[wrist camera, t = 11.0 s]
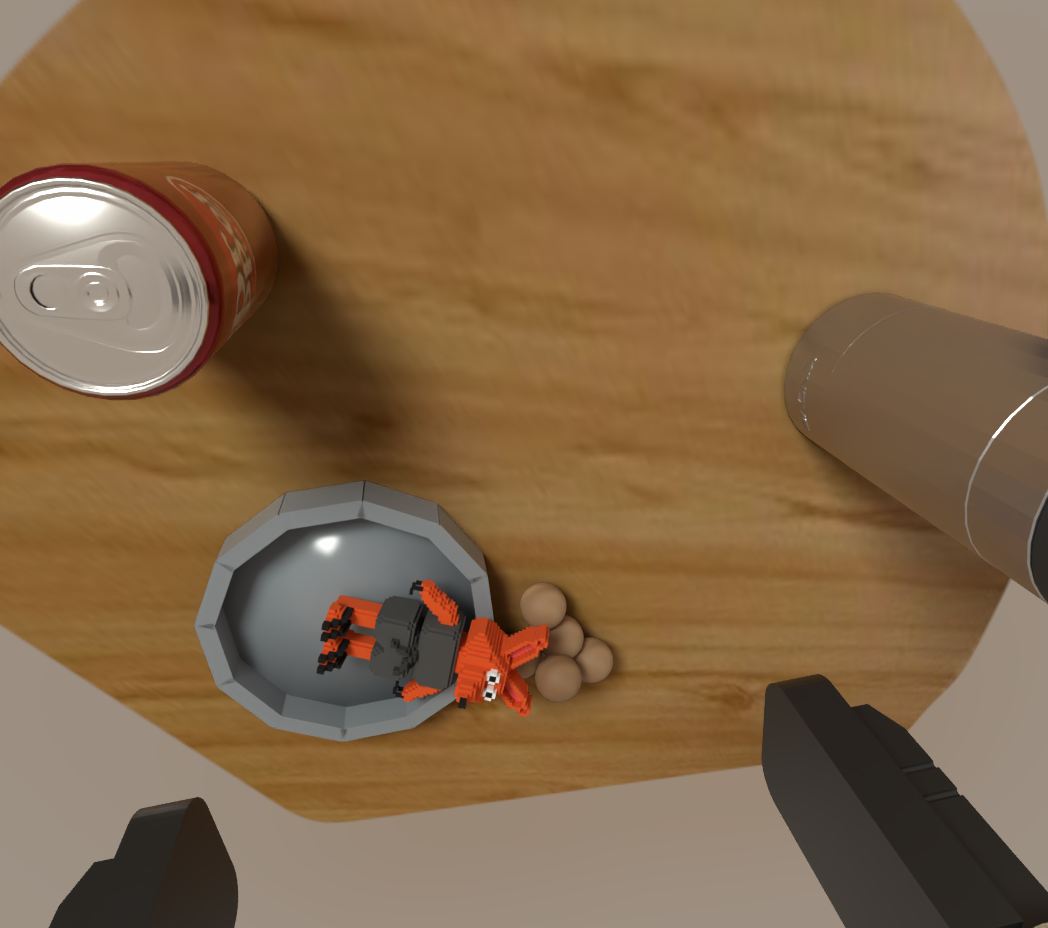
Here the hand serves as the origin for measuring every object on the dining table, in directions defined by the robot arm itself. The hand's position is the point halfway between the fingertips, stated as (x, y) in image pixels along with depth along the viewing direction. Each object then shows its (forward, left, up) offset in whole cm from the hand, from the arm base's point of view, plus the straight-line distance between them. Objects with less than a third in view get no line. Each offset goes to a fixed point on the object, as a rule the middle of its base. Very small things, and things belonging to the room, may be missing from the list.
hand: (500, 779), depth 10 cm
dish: (+7, +16, -28) cm, 33 cm away
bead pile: (-5, +20, -28) cm, 34 cm away
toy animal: (+8, +15, -25) cm, 30 cm away
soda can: (+10, -5, -28) cm, 30 cm away
